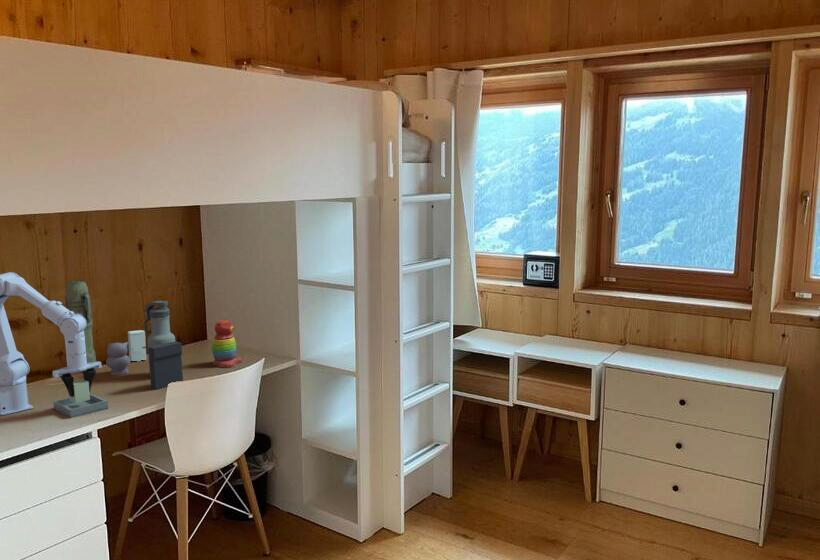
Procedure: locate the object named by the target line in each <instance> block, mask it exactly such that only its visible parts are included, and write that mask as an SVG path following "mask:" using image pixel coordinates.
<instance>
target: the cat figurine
mask: <svg viewBox="0 0 820 560" xmlns="http://www.w3.org/2000/svg"><path fill="white" fill-rule="evenodd" d="M106 352H107V354H108V357H107V359H106V361H105V362H106V366H107V367H108V368H109V369H111V370H110V371H109V373H111V374H112V375H111V374H110V375H111V376H113V375H119V376H122V375H121V374H125V373H127V374H129V368H128V367H129V365H130V363H131V361H130V358H129V355H127V353H128V341H126V342H114V343H111V342H107V349H106ZM125 375H126V374H125Z"/></svg>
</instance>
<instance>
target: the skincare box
mask: <svg viewBox="0 0 820 560" xmlns="http://www.w3.org/2000/svg"><path fill="white" fill-rule="evenodd" d="M127 340H128V341H127V342H128V344H127V346H128V357H129V358H130V362H131V361H137V362H142V361H141V360H145V361H147V346H146V343H147V342H146V333H145V331H144V330H143V329H139V330H131V331H130V330H129V331H127Z"/></svg>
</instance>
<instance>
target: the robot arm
mask: <svg viewBox="0 0 820 560" xmlns="http://www.w3.org/2000/svg"><path fill="white" fill-rule="evenodd" d="M10 296H17V297H21V298H23V300H26V301H27V302H29V303H30V304H32V305H33V306H34V307H36V308H38V309H40V310H41V315H43V317H44V318H46V319H48V320H49V321H50V322H52V323H54V325H56V326H58V327H59V331H60V333H61V334H63V338H64V344H65V345H64V346H65V354H66V355H65V356H66V358H65V359H66V366H65V367H61V368H59V369H55V370H52V377H54V379H55V378H60V379H61V381H62V382H63V383H64V385H65V387H66V390H67V392H68V397H70V396H71V397H74V389H73V381H75V380H74V376H72V374H76V373H77V372H83V373H82V375H83V376H82V377H83V379H84V380H86V381H88V382H89V392H90V393H91V388H92V384H93V382H94V379H95V376H96V374H97V369H102V368H103V367H102V362H101V361H96V362H91V363H87V358H86V346H85V335H84V331H83V330H84V329H85V328H86V326H87V321H86V319H85V318H84V317H83V316H82V315H81V314H74V312H73V311H69V310H68V309H67V308H66V306H64V305H63V302H61V301H56V300H48V299H47V298H46V297H45V296H44V295H43V294H42V293H40V292H39V291H37V289H34V287H33V286H31V284H28V283H27V281H26V280H25V278H23V277H21V276H20V275H18V274H17V273H16V272H13V271H8V272H5V273H1V274H0V416H4V415H5V416H6V415H10V414H13V413H17V412H22V411H27V410H30V409H34V406H33V405H31V404H29V397H28V388H27V387H28V386H27V376H28V375H29V373H30V371H31V370H30V365H29V363H28V361H27V360H26V359H25V356H24V353H23V354H22V352H20V351H18V349H17V346H16V342H15V340H14V339H15V338H14V336H13V332H12V331H11V330H12V329H11V326H10V323H9V320H8V316H7V312H6V309H5V306H4V303H5V302H6V301H7V299H8V298H9V297H10ZM94 369H96V370H94Z"/></svg>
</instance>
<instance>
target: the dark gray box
mask: <svg viewBox="0 0 820 560" xmlns="http://www.w3.org/2000/svg"><path fill="white" fill-rule="evenodd" d="M182 345H183V344H182V342H179V341H176V340H175V342H170V343H165V344H160V345H156V346H151V347H149V348H148V347H147V352H148V351H149V354H148V365H149V364H150V368H149V377H150V387H151V389H153V390H160V389H164V388H168V387H167V385H168V384H169V383H171V382H176V381H183V382H184V377H183V376H184V375H183V374H184V373H183V363H182V359H183V358H182V354H183V348H182V347H183V346H182Z"/></svg>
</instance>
